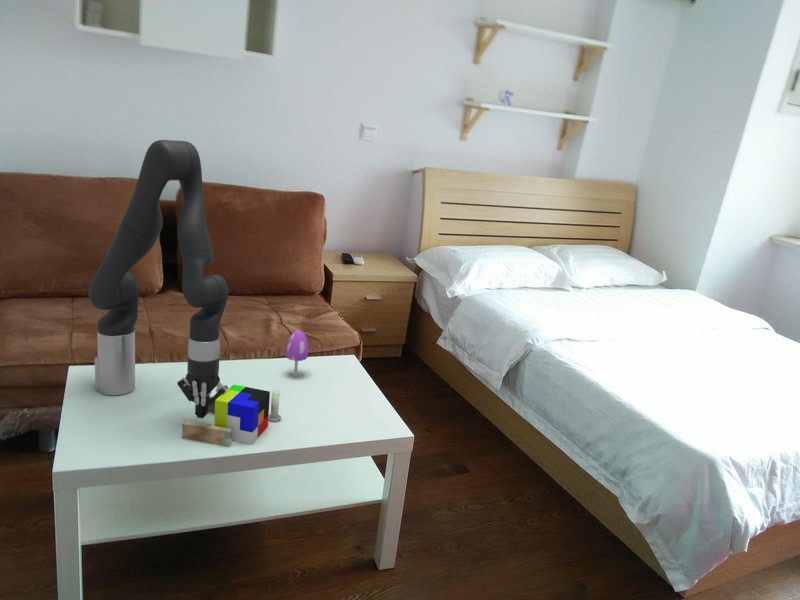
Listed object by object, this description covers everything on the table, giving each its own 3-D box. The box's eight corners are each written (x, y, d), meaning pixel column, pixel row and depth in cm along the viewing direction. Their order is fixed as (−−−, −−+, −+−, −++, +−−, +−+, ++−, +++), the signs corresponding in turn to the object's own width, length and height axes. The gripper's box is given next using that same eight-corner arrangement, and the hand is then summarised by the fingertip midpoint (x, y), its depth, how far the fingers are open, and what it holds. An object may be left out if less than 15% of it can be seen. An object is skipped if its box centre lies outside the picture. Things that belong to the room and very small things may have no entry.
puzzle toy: (251, 444, 153) (253, 407, 150) (214, 436, 155) (215, 400, 152) (267, 426, 162) (270, 391, 160) (232, 419, 164) (233, 384, 161)
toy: (285, 371, 197) (288, 326, 193) (306, 372, 198) (309, 328, 194) (283, 379, 191) (286, 334, 187) (305, 381, 192) (309, 335, 188)
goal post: (265, 420, 165) (266, 393, 163) (269, 415, 169) (271, 388, 166) (278, 423, 165) (280, 395, 162) (282, 417, 168) (284, 390, 166)
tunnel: (182, 438, 152) (182, 423, 151) (219, 401, 173) (219, 387, 172) (229, 446, 151) (229, 431, 150) (260, 408, 172) (261, 394, 171)
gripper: (171, 355, 151) (169, 418, 156) (222, 364, 150) (219, 428, 155) (185, 344, 158) (183, 406, 163) (235, 353, 157) (232, 415, 162)
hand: (201, 416), depth 159 cm, fingers closed
